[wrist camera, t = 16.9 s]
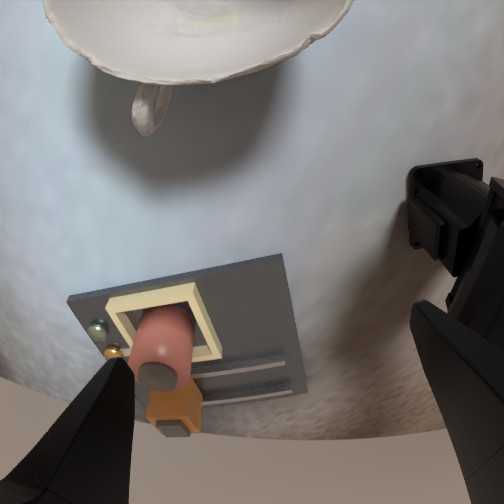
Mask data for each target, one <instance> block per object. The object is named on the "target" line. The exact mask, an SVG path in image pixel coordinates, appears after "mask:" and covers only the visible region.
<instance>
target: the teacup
mask: <svg viewBox="0 0 504 504" xmlns="http://www.w3.org/2000/svg"><path fill="white" fill-rule="evenodd" d="M353 1H354V0H43V5H44V10H45V16H46V18H48V20H49V22H50V24H51V25H52V26H53V27H54V29H55V30H56V32H57V33H58V35H59V36H60V38H61V39H62V41H63V42H64V43H65V44H66V46H67V47H69V48H70V49H71V50H72V51H74V52H76V53H78V54H79V55H81V56H83V57H84V58H85V59H87V60H88V61H89V62H91V63H92V65H94V66H96V67H97V68H98V69H100V70H102V71H103V72H106V73H108V74H111V75H114V76H116V77H120V78H123V79H127V80H130V81H135V82H140V83H141V85H140V86H139V87H138V89H137V92H136V95H135V98H134V101H133V105H132V110H131V112H132V121H133V123H134V126H135V127H136V128H137V130H138V131H139V133H140V134H142V135H144V136H150V135H151V134H152V133H153V132H154V131H155V130H156V129H157V128H158V127H159V126H160V125H161V124H162V122H163V120H164V117H165V115H166V112H167V108H168V105H169V103H170V100H171V97H172V92H173V88H174V85H196V84H210V83H215V82H220V81H224V80H228V79H232V78H236V77H239V76H243V75H247V74H251V73H255V72H258V71H260V70H263V69H266V68H268V67H270V66H273V65H275V64H277V63H279V62H281V61H283V60H285V59H288V58H291V57H293V56H296V55H297V54H298V53H299V52H300V51H302V50H303V49H305V48H307V47H308V45H310V44H312V43H313V42H314V41H316V40H318V39H320V38H323V37H325V36H326V35H327V34H329V33H330V32H331V31H332V30H333V29H334V28H335V27H336V25H337V24H338V23H339V22H340V21H341V20H342V18H343V17H344V16H345V15H346V13H347V12H348V10H349V9H350V7H351V5H352V3H353ZM159 85H161V87H160V94H159V97H158V100H157V103H156V106H155V109H154V99H155V95H156V92H157V89H158V86H159Z"/></svg>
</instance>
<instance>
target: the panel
mask: <svg viewBox="0 0 504 504" xmlns="http://www.w3.org/2000/svg"><path fill="white" fill-rule="evenodd" d="M193 282H195V284H196V286H197V289H198V291H199V294H200V296H201V299H202V301H203V304H204V306H205V308H206V311H207V313H208V316H209V318H210V320H211V323H212V325H213V327H214V330H215V332H216V334H217V337H218V339H219V341H220V344H221V346H222V358H221V359H214V360H207V361H199V362H192V363H191V372H190V379H193V380H194V382H195V383H196V385H197V386H198V388H199V390H200V391H201V393H202V394H203V401H202V408H204V407H214V406H224V405H233V404H241V403H248V402H255V401H262V400H269V399H275V398H281V397H287V396H292V395H298V394H303V393H308V390H307V385H306V379H305V373H304V367H303V362H302V356H301V351H300V345H299V340H298V334H297V329H296V324H295V318H294V313H293V308H292V303H291V297H290V292H289V287H288V282H287V277H286V272H285V267H284V262H283V257H282V253H281V254H276V255H271V256H266V257H261V258H256V259H252V260H247V261H242V262H237V263H232V264H227V265H222V266H217V267H212V268H207V269H202V270H197V271H192V272H188V273H183V274H178V275H173V276H168V277H163V278H158V279H153V280H147V281H142V282H137V283H132V284H127V285H122V286H117V287H112V288H107V289H102V290H97V291H92V292H87V293H81V294H76V295H71V296H69V298H68V299H67V301H66V302H67V304H68V305H69V307H70V309H71V310H72V312H73V313H74V315H75V316H76V318H77V319H78V321H79V322H80V324H81V325H82V327H83V328H84V329H85V331H86V332H87V334H88V335H89V337H90V338H91V339H92V341H93V342H94V344H95V345H96V346H97V348H98V349H99V350H100V352H101V353H102V355H103V356H104V357H105V359H106V360H108V359H110V358H112V357H122V358H123V359H124V360H125V361H126V363H127V364H128V360H129V357H130V353H131V348H130V346H129V345H128V343H127V342H126V340H125V339H124V337H123V336H122V334H121V333H120V331H119V330H118V328H117V327H116V325H115V323H114V322H113V320H112V319H111V317H110V315H109V314H108V312H107V310H106V309H105V307H106V305H107V303H108V301H109V298H113V297H118V296H124V295H129V294H135V293H140V292H146V291H151V290H156V289H162V288H167V287H172V286H177V285H183V284H188V283H193ZM172 305H175V306H178V307H180V308H182V309H184V310H185V311H187V312H188V313H189V314H190V315H191V316H192V318H193V319H194V322H195V336H194V345H193V347H197V346H204V345H208V344H207V342H206V340H205V338H204V336H203V333H202V331H201V329H200V327H199V325H198V323H197V320H196V318H195V316H194V314H193V312H192V309H191V307H190V305H189V303H188V301H184V302H178V303H172ZM145 309H146V308H143V309H137V310H131V311H125V314H126V315H127V317H128V319H129V320H130V322H131V324H132V325H133V327H134V329H135V330H136V332H137V328H138V325H139V321H140V318H141V315H142V313H143V311H144V310H145ZM150 392H151V389H148V388H146V387H145V386H143V385H141V384H139V383H138V382H136V381H135V396H136V397H137V398H138V399H139V401H140V402H141V403H142V404H143V405H144V406H145V407H146V409H147V408H148V403H149V397H150Z"/></svg>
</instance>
